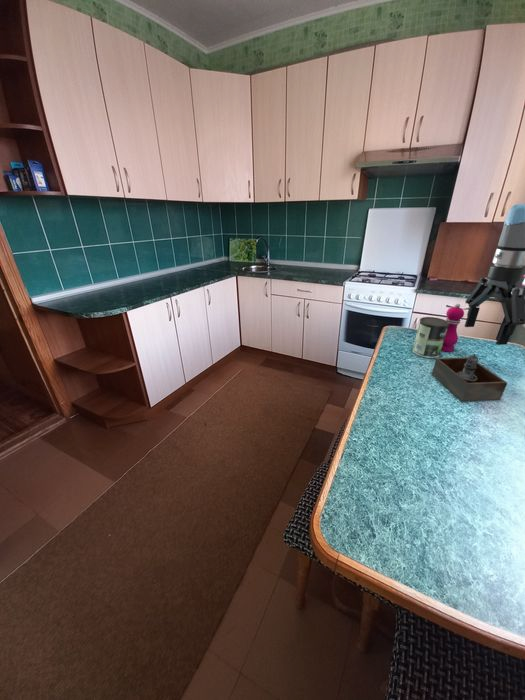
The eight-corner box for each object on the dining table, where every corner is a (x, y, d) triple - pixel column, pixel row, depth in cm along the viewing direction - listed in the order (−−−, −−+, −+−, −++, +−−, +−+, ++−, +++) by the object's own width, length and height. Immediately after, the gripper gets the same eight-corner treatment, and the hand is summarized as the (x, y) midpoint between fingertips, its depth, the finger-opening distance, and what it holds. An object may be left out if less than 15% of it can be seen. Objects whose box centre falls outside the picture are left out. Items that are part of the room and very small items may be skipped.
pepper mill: (434, 349, 124) (446, 304, 115) (436, 343, 129) (448, 300, 120) (453, 353, 120) (468, 307, 111) (455, 347, 125) (469, 302, 116)
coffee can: (442, 352, 122) (452, 320, 115) (435, 361, 115) (445, 328, 108) (416, 345, 128) (424, 314, 121) (408, 353, 121) (416, 321, 115)
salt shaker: (451, 379, 102) (461, 348, 96) (469, 381, 101) (480, 350, 95) (457, 388, 97) (468, 357, 91) (477, 390, 96) (489, 358, 90)
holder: (464, 372, 107) (470, 357, 104) (500, 400, 92) (507, 382, 89) (431, 374, 106) (436, 358, 103) (461, 401, 91) (467, 384, 88)
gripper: (464, 258, 92) (447, 321, 102) (534, 275, 70) (504, 353, 79) (487, 257, 92) (468, 320, 102) (564, 274, 70) (530, 352, 80)
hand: (483, 334), depth 91 cm, fingers open, 13 cm apart
